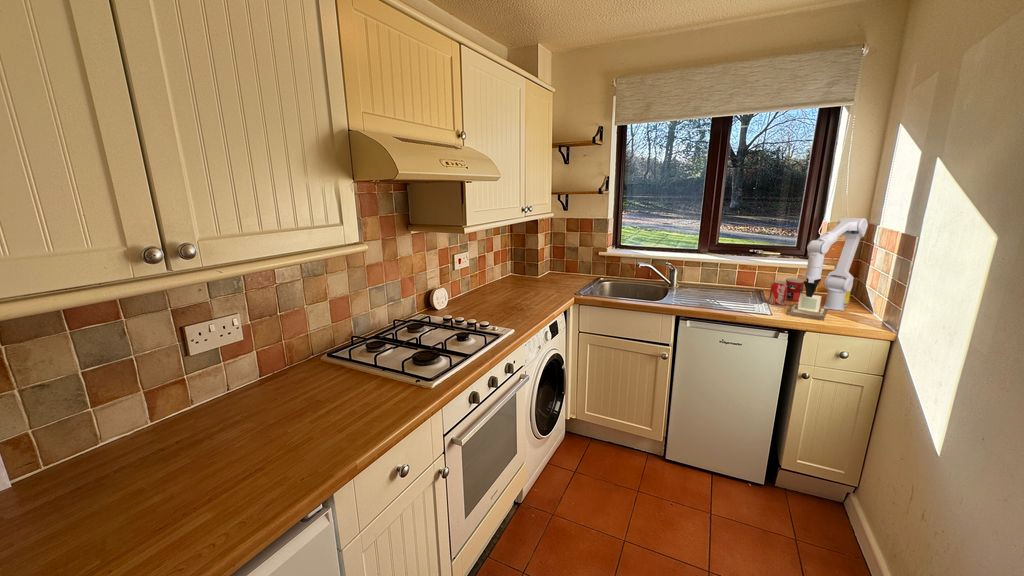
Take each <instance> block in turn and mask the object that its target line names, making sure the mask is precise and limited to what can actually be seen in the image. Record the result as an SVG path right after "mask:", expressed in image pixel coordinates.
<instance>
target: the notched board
mask: <svg viewBox="0 0 1024 576" xmlns="http://www.w3.org/2000/svg"><path fill="white" fill-rule="evenodd" d="M828 310H829V309H827V308H823V307H820V308H819V312H814V311H808V310H801V309H798V303H792V305H791V306H790V308H789V309H788V311H787V312H786V315H787V316H791V317H795V318H796V317H797V318H804V319H810V320H816V321H821V320H822V321H821V322H823V321H825V317H826V315H827V313H828Z"/></svg>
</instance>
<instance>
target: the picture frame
mask: <svg viewBox="0 0 1024 576" xmlns="http://www.w3.org/2000/svg"><path fill="white" fill-rule="evenodd" d="M821 301H822V295H815V294H813V296H812V297H806V293H803V292H802V293H801V294H800V297H799V302H798V303H797V304H798V309H801V310H808V311H814V312H819V308H821V307H820V306H821Z"/></svg>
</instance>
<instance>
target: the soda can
mask: <svg viewBox="0 0 1024 576" xmlns="http://www.w3.org/2000/svg"><path fill="white" fill-rule="evenodd" d="M786 283H787V282H786V280H785V281H784V280H773V282H772V283H771V287H770V291H769V298H768V300H769V301H768V303H769V304H770V305H771V306H775V307H782V306H784V305H785V304H786V301H787V300H786V295H787V287H788V286H787V284H786Z"/></svg>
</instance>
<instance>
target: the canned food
mask: <svg viewBox="0 0 1024 576" xmlns="http://www.w3.org/2000/svg"><path fill="white" fill-rule="evenodd" d="M804 281H805V280H804V279H801V278H792V277H791V278H790V277H788V278H786V279H785V282H787V283H786V284H787V286H788V287H787V295H786V301H787V302H793V303H795V302H798V303H799V297H800V294H801V293H802V294H803V291H804V287H805V285H804Z"/></svg>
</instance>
